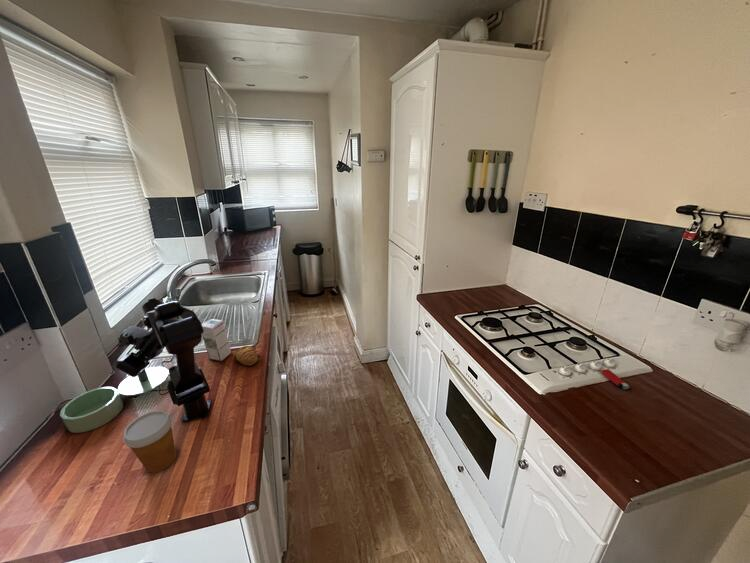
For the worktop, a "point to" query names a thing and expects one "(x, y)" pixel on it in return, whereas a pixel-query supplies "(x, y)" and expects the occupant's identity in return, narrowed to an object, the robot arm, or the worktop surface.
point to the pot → (91, 409)
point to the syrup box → (216, 339)
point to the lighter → (615, 379)
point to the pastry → (247, 355)
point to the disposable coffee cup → (152, 440)
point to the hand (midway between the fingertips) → (134, 367)
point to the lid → (143, 381)
